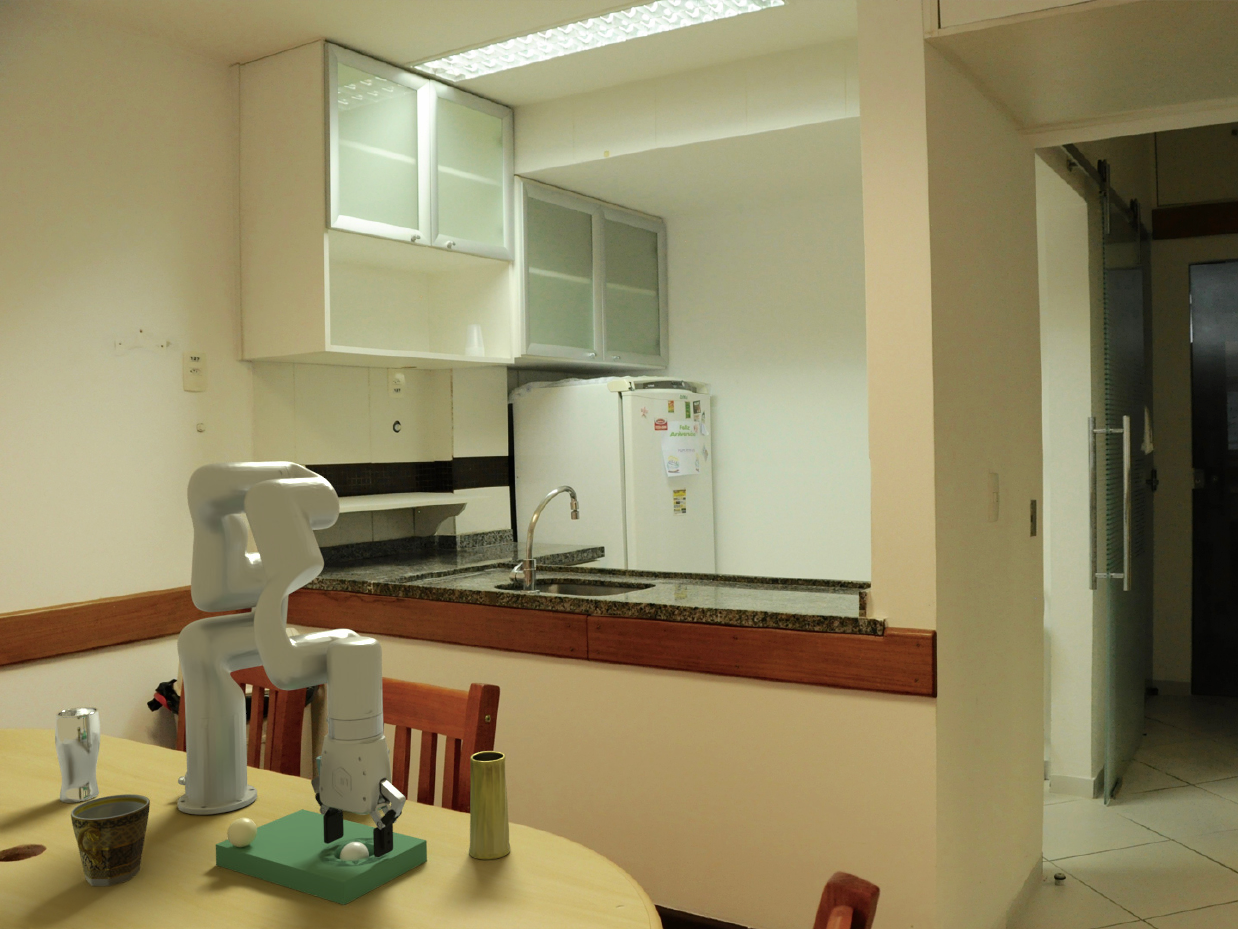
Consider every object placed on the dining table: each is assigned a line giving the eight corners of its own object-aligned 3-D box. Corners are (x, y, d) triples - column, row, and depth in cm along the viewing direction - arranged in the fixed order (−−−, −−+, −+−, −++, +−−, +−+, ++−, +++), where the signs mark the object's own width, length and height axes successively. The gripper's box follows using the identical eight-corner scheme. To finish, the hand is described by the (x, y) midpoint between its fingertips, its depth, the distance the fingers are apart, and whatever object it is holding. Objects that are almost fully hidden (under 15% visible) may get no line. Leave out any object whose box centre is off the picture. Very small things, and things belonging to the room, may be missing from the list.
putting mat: (216, 865, 146) (215, 844, 146) (302, 828, 159) (302, 809, 159) (344, 905, 132) (343, 882, 132) (426, 861, 146) (426, 840, 146)
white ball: (341, 881, 141) (329, 854, 142) (362, 870, 144) (350, 844, 146) (358, 869, 139) (346, 843, 140) (378, 859, 143) (367, 833, 144)
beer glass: (110, 794, 176) (108, 709, 176) (70, 806, 171) (68, 719, 170) (87, 787, 180) (85, 704, 180) (48, 799, 174) (46, 713, 174)
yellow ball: (221, 848, 144) (220, 820, 144) (244, 838, 148) (244, 811, 148) (240, 853, 142) (239, 825, 142) (263, 844, 146) (262, 816, 145)
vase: (477, 863, 145) (475, 765, 144) (463, 849, 150) (461, 754, 150) (516, 855, 148) (514, 758, 147) (501, 840, 153) (499, 747, 153)
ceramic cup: (97, 862, 148) (95, 794, 147) (164, 861, 147) (162, 793, 147) (44, 902, 135) (42, 828, 134) (117, 902, 134) (115, 827, 134)
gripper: (292, 725, 143) (295, 844, 143) (381, 742, 134) (384, 869, 134) (332, 712, 149) (335, 827, 150) (420, 727, 140) (422, 849, 141)
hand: (358, 847), depth 142 cm, fingers open, 9 cm apart
